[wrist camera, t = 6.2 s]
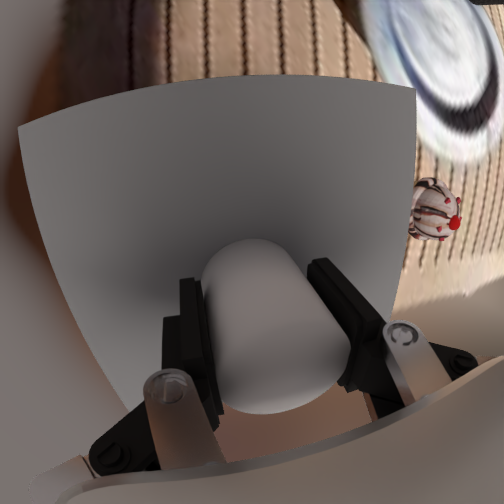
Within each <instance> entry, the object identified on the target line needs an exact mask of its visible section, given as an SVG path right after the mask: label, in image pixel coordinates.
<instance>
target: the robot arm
mask: <svg viewBox="0 0 504 504" xmlns="http://www.w3.org/2000/svg"><path fill="white" fill-rule="evenodd" d="M307 280H308V281H309V283H310V284H311V286H312V287H313V288H314V290H315V291H316V293H317V294H318V295H319V297H320V298H321V300H322V301H323V302H324V304H325V305H326V307H327V308H328V310H329V311H330V312H331V314H332V315H333V317H334V318H335V320H336V321H337V322H338V324H339V325H340V327H341V328H342V330H343V331H344V332H345V334H346V335H347V337H348V339H349V341H350V345H351V350H350V354H349V358H348V361H347V365H346V369H345V371H344V372H343V374H342V375H341V377H340V378H339V379H338V380H337V383H338V385H339V386H344V388H345V389H346V391H347V393H349V392H352V391H354V390H357V389H359V391H362V392H363V397H364V400H365V403H366V406H367V409H368V412H369V415H370V418H371V421H372V422H371V423H369V424H366V425H364V426H361V427H359V428H356V429H353V430H351V431H348V432H345V433H343V434H340V435H337V436H334V437H331V438H328V439H325V440H322V441H319V442H315V443H312V444H309V445H305V446H302V447H298V448H295V449H291V450H287V451H283V452H279V453H275V454H271V455H266V456H262V457H257V458H252V459H247V460H241V461H236V462H230V463H227V462H226V460H225V458H224V455H223V453H222V451H221V449H220V447H219V444H218V442H217V440H216V437H215V435H214V433H213V432H214V431H215V430H216V429H217V428H218V427H219V424H220V422H219V417H218V415H223V414H224V410H223V405H222V400H221V398H220V393H219V389H218V384H217V380H216V374H215V369H214V363H213V357H212V351H211V345H210V338H209V332H208V325H207V319H206V312H205V305H204V298H203V292H202V286H201V280H197V281H195V278H194V277H190V278H183V279H179V294H180V315H175V316H167V317H163V328H162V362H161V370H160V371H157V372H155V373H154V374H152V375H151V376H150V377H149V378H148V379H147V380H146V381H145V384H144V386H143V396H144V401H143V402H141V403H140V404H139V405H138V406H137V407H136V408H134V409H133V410H132V411H131V412H130V413H129V414H127V415H126V416H125V417H124V418H123V419H122V420H120V421H119V422H118V423H117V424H116V425H114V426H113V427H112V428H111V429H110V430H108V431H107V432H106V433H105V434H104V435H103V436H101V437H100V438H99V439H97V440H96V441H95V442H94V444H93V445H92V446H91V449H90V451H89V454H88V455H86V456H84V457H83V456H81V455H78V456H76V457H74V458H72V459H70V460H68V461H66V462H64V463H62V464H60V465H58V466H56V467H54V468H52V469H50V470H47V471H45V472H43V473H41V474H39V475H37V476H35V477H34V478H33V479H32V480H31V482H30V484H29V493H30V497H31V500H32V502H33V504H504V355H502V356H500V357H495V356H476V357H473V356H472V355H471V354H470V353H468V352H466V351H463V350H460V349H455V348H451V347H447V346H442V345H439V344H435V343H431V342H428V341H427V339H426V338H425V336H424V335H423V333H422V332H421V330H420V329H419V328H418V327H417V326H416V325H414V324H413V323H410V322H408V321H403V320H394V321H390V322H389V323H386V321H385V320H384V319H383V318H382V316H381V315H380V314H379V313H378V312H377V311H376V310H375V308H374V307H373V306H372V305H371V304H370V303H369V302H368V301H367V300H366V298H365V297H364V296H363V295H362V294H361V293H360V292H359V291H358V290H357V289H356V287H355V286H354V285H353V284H352V283H351V282H350V281H349V280H348V279H347V278H346V277H345V276H344V274H343V273H342V272H341V271H340V270H339V269H338V268H337V267H336V266H335V265H334V264H333V263H332V262H331V261H330V260H329V259H328V258H327V257H324V258H318V259H313V260H312V262H311V263H310V264H308V266H307Z"/></svg>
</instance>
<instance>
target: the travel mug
mask: <svg viewBox="0 0 504 504" xmlns="http://www.w3.org/2000/svg"><path fill="white" fill-rule="evenodd" d="M469 1H470V2H472V3H473V4H475V5H496V4H504V0H469Z"/></svg>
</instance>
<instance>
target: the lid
mask: <svg viewBox="0 0 504 504" xmlns="http://www.w3.org/2000/svg"><path fill="white" fill-rule="evenodd" d="M18 133H19V140H20V147H21V153H22V159H23V165H24V170H25V175H26V179H27V184H28V188H29V192H30V196H31V200H32V204H33V208H34V212H35V215H36V219H37V222H38V226H39V229H40V232H41V235H42V238H43V242H44V245H45V247H46V250H47V253H48V256H49V259H50V262H51V264H52V267H53V270H54V272H55V275H56V277H57V280H58V282H59V285H60V287H61V289H62V292H63V294H64V296H65V298H66V301H67V303H68V305H69V307H70V310H71V312H72V314H73V316H74V318H75V320H76V322H77V324H78V326H79V328H80V330H81V332H82V334H83V336H84V338H85V340H86V342H87V344H88V346H89V347H90V349H91V351H92V353H93V355H94V357H95V358H96V360H97V362H98V363H99V365H100V367H101V369H102V370H103V372H104V373H105V375H106V377H107V378H108V380H109V382H110V383H111V385H112V387H113V388H114V390H115V391H116V393H117V394H118V396H119V397H120V399H121V400H122V402H123V403H124V405H125V406H126V407H127V409H128V410H129V412H131V411H132V410H133V409H134V408H136V407H137V406H138V405H139V404H140V403H141V402H143V401H144V396H143V386H144V384H145V381H146V380H147V379H148V378H149V377H150V376H151V375H152V374H154V373H155V372H157V371H160V370H161V362H162V328H163V317H167V316H175V315H180V294H179V279H183V278H190V277H194V278H195V281H197V280H201V286H202V292H203V298H204V305H205V312H206V319H207V325H208V332H209V338H210V345H211V351H212V357H213V363H214V369H215V374H216V380H217V384H218V389H219V393H220V398H221V400H222V402H224V403H225V404H227V405H228V406H230V407H231V408H234V409H236V410H239V411H242V412H246V413H252V414H271V413H278V412H283V411H287V410H290V409H294V408H296V407H299V406H302V405H304V404H306V403H308V402H310V401H312V400H314V399H315V398H317V397H319V396H320V395H321V394H323V393H324V392H326V391H327V390H328V389H329V388H330V387H331V386H333V385H334V384H335V382H336V381H337V380H338V379H339V378H340V377H341V375H342V374H343V372H344V371H345V369H346V365H347V361H348V358H349V354H350V350H351V345H350V341H349V339H348V337H347V335H346V334H345V332H344V331H343V330H342V328H341V327H340V325H339V324H338V322H337V321H336V320H335V318H334V317H333V315H332V314H331V312H330V311H329V310H328V308H327V307H326V305H325V304H324V302H323V301H322V300H321V298H320V297H319V295H318V294H317V293H316V291H315V290H314V288H313V287H312V286H311V284H310V283H309V281H308V280H307V266H308V264H310V263H311V262H312V260H313V259H318V258H324V257H327V258H328V259H329V260H330V261H331V262H332V263H333V264H334V265H335V266H336V267H337V268H338V269H339V270H340V271H341V272H342V273H343V274H344V276H345V277H346V278H347V279H348V280H349V281H350V282H351V283H352V284H353V285H354V286H355V287H356V289H357V290H358V291H359V292H360V293H361V294H362V295H363V296H364V297H365V298H366V300H367V301H368V302H369V303H370V304H371V305H372V306H373V307H374V308H375V310H376V311H377V312H378V313H379V314H380V315H381V316H382V318H383V319H384V320H385V321H386V323H389V321H390V317H391V313H392V310H393V306H394V301H395V297H396V293H397V289H398V284H399V279H400V274H401V270H402V264H403V259H404V254H405V248H406V242H407V235H408V229H409V222H410V214H411V206H412V197H413V186H414V174H415V158H416V89H415V88H410V87H405V86H399V85H394V84H388V83H382V82H375V81H368V80H360V79H351V78H341V77H329V76H313V75H245V76H228V77H216V78H206V79H197V80H189V81H182V82H175V83H169V84H162V85H157V86H151V87H146V88H141V89H136V90H132V91H127V92H123V93H119V94H115V95H111V96H107V97H103V98H99V99H96V100H92V101H89V102H85V103H82V104H79V105H76V106H73V107H69V108H66V109H63V110H61V111H58V112H55V113H52V114H49V115H47V116H44V117H42V118H39V119H36V120H34V121H32V122H29V123H27V124H24V125H22V126H20V127H18Z"/></svg>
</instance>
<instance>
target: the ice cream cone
mask: <svg viewBox="0 0 504 504" xmlns="http://www.w3.org/2000/svg"><path fill="white" fill-rule="evenodd" d="M460 202H461V200H460V198H459V197H457V198H455V197H454V195H453V194H452V193H451V192H450V191H449V190H448V188H447V186H446V185H445V183H444V182H442V181H441V180H439V179H436V178H422V179H420V180H419V181H414V186H413V197H412V206H411V214H410V222H409V229H408V232H409V234H410V235H412V236H413V237H414V238H416V239H418V240H428V239H432V240H439V241H444V238H447V237H448V236H449V235H451V234H452V233H453V232H454V230H457V229H458V228H459V227H460V221H461V219H462V217H460V210H459V205H458V204H459V203H460Z"/></svg>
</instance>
